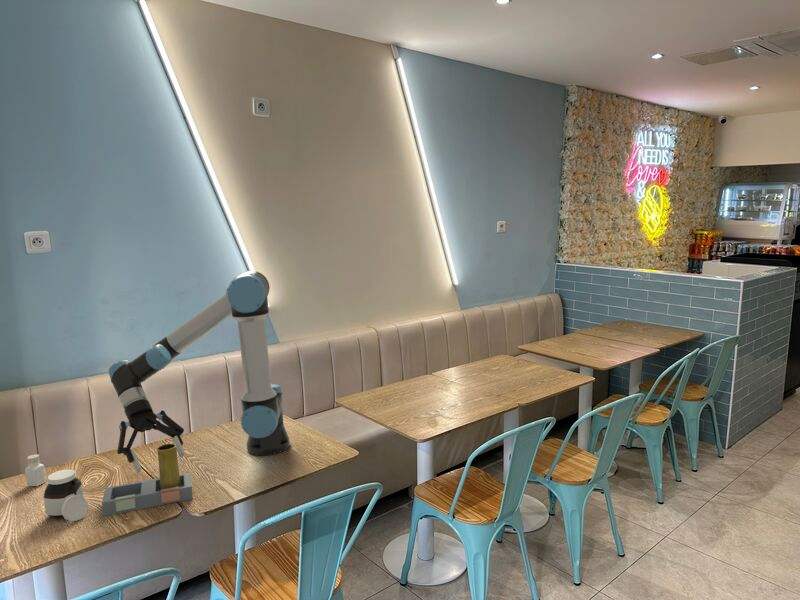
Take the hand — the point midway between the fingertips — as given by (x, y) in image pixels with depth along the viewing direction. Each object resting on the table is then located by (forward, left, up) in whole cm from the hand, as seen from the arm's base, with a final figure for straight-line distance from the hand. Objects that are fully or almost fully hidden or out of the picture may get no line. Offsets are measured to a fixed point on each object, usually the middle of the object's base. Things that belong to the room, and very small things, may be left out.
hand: (161, 462), depth 178 cm
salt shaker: (+38, -23, -10) cm, 45 cm away
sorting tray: (+4, +3, -9) cm, 11 cm away
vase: (-2, +3, -9) cm, 9 cm away
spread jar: (+25, +3, -10) cm, 27 cm away
